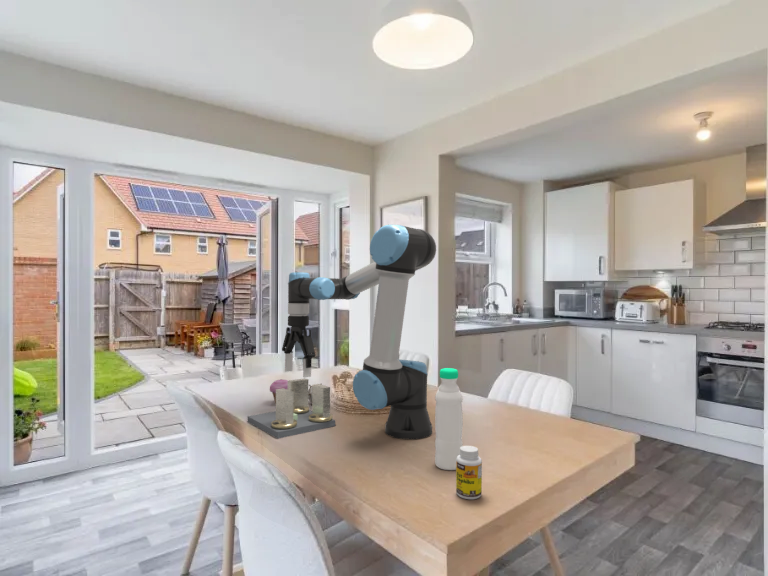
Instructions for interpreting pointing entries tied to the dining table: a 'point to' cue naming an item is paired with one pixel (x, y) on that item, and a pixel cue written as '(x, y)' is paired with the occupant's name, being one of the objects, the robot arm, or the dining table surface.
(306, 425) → the board
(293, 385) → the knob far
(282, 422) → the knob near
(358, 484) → the dining table surface
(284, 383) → the cupcake
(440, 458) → the water bottle
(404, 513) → the dining table surface
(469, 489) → the supplement bottle
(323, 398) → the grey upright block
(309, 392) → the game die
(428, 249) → the robot arm
